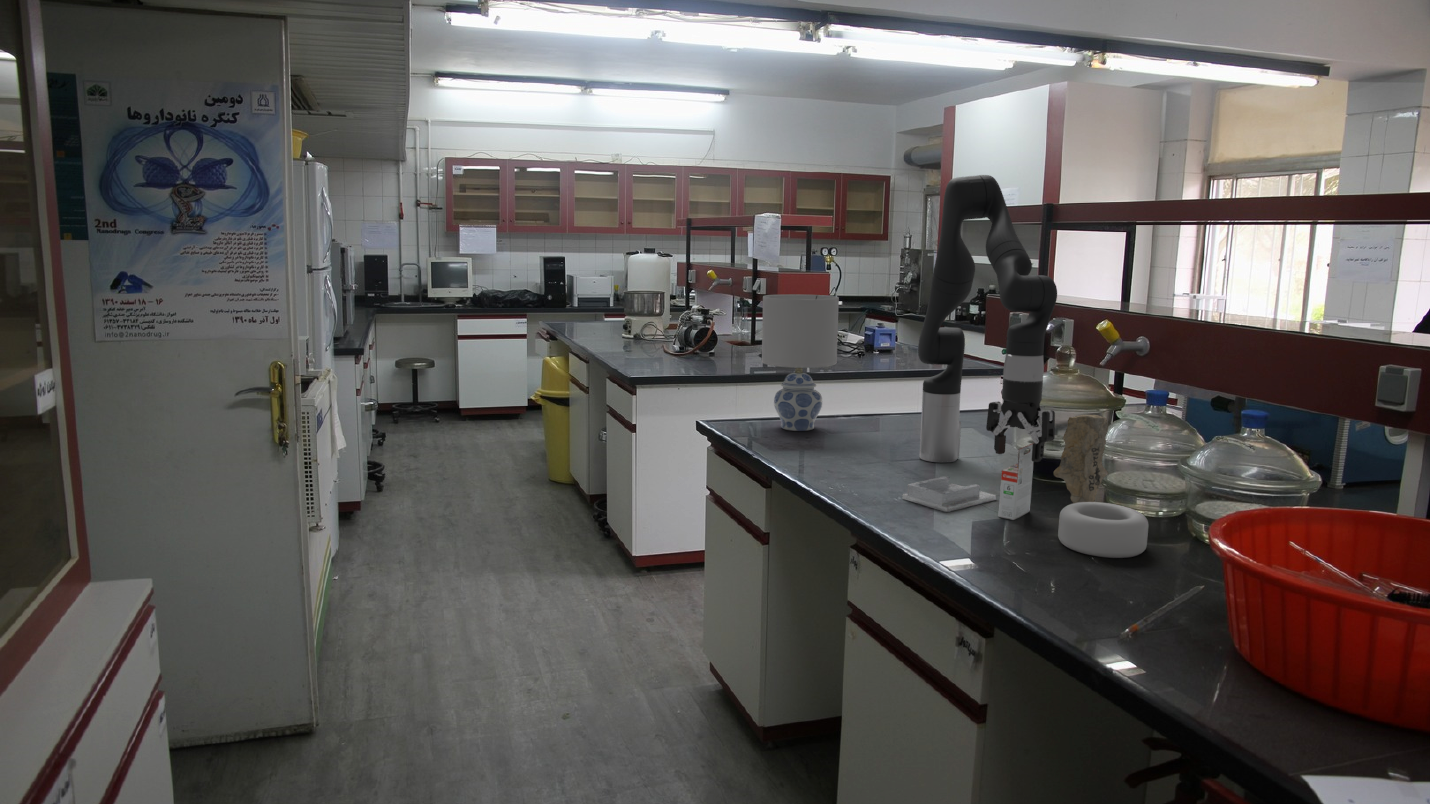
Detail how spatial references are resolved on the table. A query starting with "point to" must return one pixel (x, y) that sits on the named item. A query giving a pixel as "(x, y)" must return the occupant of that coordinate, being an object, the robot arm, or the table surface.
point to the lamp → (799, 351)
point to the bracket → (945, 494)
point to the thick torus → (1103, 529)
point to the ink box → (1017, 486)
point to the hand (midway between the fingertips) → (1017, 457)
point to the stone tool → (1083, 456)
